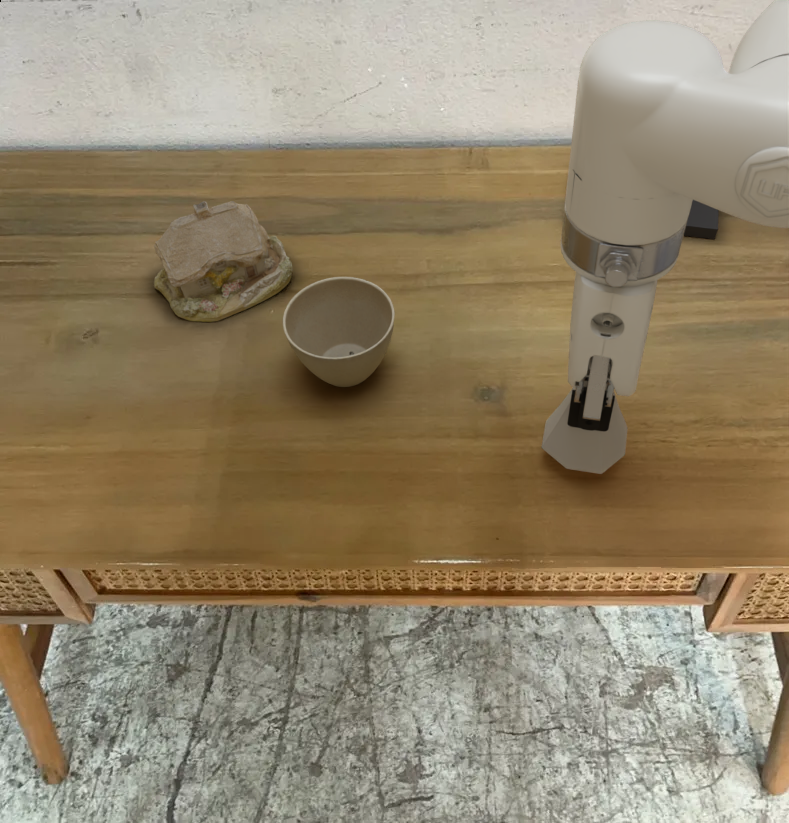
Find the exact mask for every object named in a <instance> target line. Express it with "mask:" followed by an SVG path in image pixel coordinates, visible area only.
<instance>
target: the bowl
mask: <svg viewBox="0 0 789 823" xmlns="http://www.w3.org/2000/svg"><path fill="white" fill-rule="evenodd" d="M289 300H290V301H289V302H288V303H287V305H286V306H285V309H284V312H283V316H282V329H283V332H284V335H285V338H286V339H287V342H288V344H289V346H290V347H291V349H292V351H293V352H294V353H295V355H296V357H297V358H298V359H299V361H300V362H301V364H303V366H305V368H307V369H308V371H310V372H311V373H312V374H313V375H314V376H316V377H317V378H318V379H319V380H321V381H323V382H325V383H328V384H330V385H332V386H333V387H339V388H351V387H354V386H357V385H360V384H362V383H363V382H364V381H366V380H368V378H369V377H370V376H372V375H373V373H374V372H375V371H376V369H377V368H378V367H379V366H380V364H381V362H382V361H383V359H384V357H385V355H386V354H387V350H388V348H389V346H390V343H391V339H392V336H393V332H394V326H395V315H396V314H395V306H394V304H393V301H392V299H391V297H390V295H389V294H388V293H387V292H386V291H385V290H384V289H383V288H381V287H380V286H379V285H377V284H376V283H374V282H372V281H369V280H367V279H364V278H360V277H355V276H333V277H328V278H324V279H321V280H317V281H314V282H313V283H311V284H308V285H307V286H305V287H304V288H302V289H301V290H299V291H298V292H297V293H295V294H294V296H293V297H292V298H291V299H289Z"/></svg>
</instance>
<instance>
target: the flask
mask: <svg viewBox="0 0 789 823" xmlns="http://www.w3.org/2000/svg"><path fill="white" fill-rule="evenodd" d="M587 386H588V381H584V385H583V388H584V387H587ZM606 387H607V384H606ZM606 387H605V391H606ZM572 390H576V386H575V389H574V388H573V387H572V388H571V389H570V391H569V392H568V393H567V395H566V396H565V398H564V399H563V400H562V401H561V402H560V404H558V405H557V407H556V408H555V410H554V411H553V412H552V413H551V414H550V416H548V418H547V419H546V421H545V424H544V430H543V436H542V442H541V449H542V450H543V451H544V452H546V453H547V454H548V455H549V456H551V457H552V458H553V459H554V460H555V461H557V462H558V463H559V464H560V465H561V466H563V467H564V468H565V469H567V470H573V471H580V472H584V473H585V472H587V473H592V474H597V475H598V474H599V475H602V474H603V473H605V472H606V471H607V470H608V469H610V468H611V467H612V466H613V465H615V464H616V463H617V462H618V461H619V460H621V459H622V458H623V457H624V456H625V455H626V448H627V439H628V438H627V437H628V428H629V427H628V425H627V423H626V420H625V417H624V415H623V413H622V410H621V407H620V404H619V402H618V400H617V396H616V392H614V393H613V395H614V396H615V401H614V405H613V410H612V415H611V419H610V424H609V429H608V430H607V431H605V432H603V431H596V430H593V431H590V430H584V429H581V428H576V427H570V426H569V425H568V424H567V422H568V415H569V409H570V402H571V395H572Z"/></svg>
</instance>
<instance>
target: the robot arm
mask: <svg viewBox="0 0 789 823" xmlns="http://www.w3.org/2000/svg"><path fill="white" fill-rule="evenodd" d="M579 66H580V67H579V72H578V79H577V87H576V94H575V95H576V96H575V106H574V116H573V124H572V132H571V143H570V153H569V161H568V170H567V171H568V172H567V181H566V189H565V198H564V206H563V207H564V208H563V215H562V224H561V225H562V226H561V233H560V234H561V235H560V244H559V245H560V252H561V256H562V257H563V260H564V261H565V263H566V264H567V265H568V266H569V267H570V268H571V269H572V270H573V271H574V272H575V275H574V284H573V292H572V293H573V294H572V301H571V311H570V322H569V323H570V325H569V340H568V342H569V343H568V361H567V383H568V384H569V385H570V387H572V388H574V389H575V386H576V390H572V395H571V402H570V409H569V415H568V422H567V424H568V425H569V426H570V427H576V428H581V429H584V430H590V431H593V430H596V431H603V432H605V431H607V430H608V429H609V424H610V419H611V415H612V410H613V405H614V401H615V396H616V395H617V396H620V397H623V396H624V397H631V396H632V395H633V394H634V393H636V391H637V387H638V380H639V376H640V372H641V366H642V362H643V357H644V352H645V348H646V342H647V339H648V338H647V337H648V334H649V328H650V324H651V319H652V314H653V309H654V303H655V298H656V293H657V286H658V280H660V279H661V278H663V277H665V276H666V275H667V274H668V273H670V271H672V270H673V268H674V267H675V266H676V264H677V261H678V259H679V256H680V251H681V248H682V243H683V240H684V237H685V236H684V232H685V228H686V224H687V220H688V216H689V213H690V209H691V205H692V201H693V200H695V201H698V202H700V203H703V204H705V205H708V206H710V207H712V208H715V209H717V210H719V212H722V213H724V214H727V215H729V216H732V217H735V218H737V219H741V220H743V221H746V222H749V223H752V224H756V225H759V226H764V227H768V228H780V229H789V0H774V1H773V2H771V3H770V4H769V5H768V6H767V7H766V8H765V9H764V10H763V11H762V12H761V13H760V14H759V16H757V17H756V19H755V20H754V21H753V23H752V24H751V25H750V26H749V28H748V29H747V30H746V32H745V33H744V34H743V36H742V38H741V39H740V41H739V42H738V45H737V46H736V50H735V52H734V54H733V57H732V60H731V63H730V66H729V69H728V71H727V70H726V69H725V67H724V62H723V58H722V55H721V54H720V50H719V48H718V47H717V46H716V44H715V43H714V42H713V41H712V39H711V38H709V37H708V36H707V35H705V34H703V33H702V32H701V31H699V30H697V29H696V28H693V27H690V26H688V25H685V24H682V23H678V22H674V21H668V20H656V19H655V20H650V19H649V20H647V19H646V20H637V21H632V22H626V23H623V24H619V25H617V26H615V27H613V28H610V29H608V30H607V31H605V32H603V33H602V34H601V35H599V36H598V37H596V39H595V40H594V41H593V42H592V43H591V44H590V45H589V46H588V48H587V49H586V51H585V54H584V56H583V57H582V60H581V63H580V65H579ZM584 381H588V386H587V387H584V388H583V385H584ZM606 384H607V387H606ZM605 387H606V391H605ZM613 393H615V394H616V395H615V396H614V395H613Z"/></svg>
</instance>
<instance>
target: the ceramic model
mask: <svg viewBox="0 0 789 823" xmlns="http://www.w3.org/2000/svg"><path fill="white" fill-rule="evenodd" d="M192 208H193V211H194V212H193V213H191V214H188V215H184V216H179V217H178V218H176V219H174V220H173V221H171V222H170V224H169V227H168V228H167V229H166V230H165V231H164V233H163V234H162V235H161V237H160V238H159V239H158V240H155V241H154V242H155V243H154V244H153V248H154V251H155V254H156V256H157V257H158V258H159V260H160V262H161V265H162V266H163V268H162V269H160V271H159V272H157V274H156V276H155V277H154V280H153V281H154V282H153V287H154V289H156V290H157V291H159V292H160V293H161V294H162V295H163V297H164V298H165V299H166V300H167V302H168V303H169V306H170V309H171V310H172V312H173V313H174V314H175V315H176V316H177V317H178V318H181V319H182V320H186V321H189V322H202V323H205V322H207V323H212V322H218V321H222V320H223V319H226V318H229V317H231V316H233V315H236V314H238V313H241V312H244V311H245V310H248V309H250V308H252V307H254V306H256V305H258V304H260V303H262V302H264V301H266V300H268V299H270V298H272V297H274V296H275V295H277V294H278V293H281V291H282V290H283V289H285V288H286V287H287V285H289V283H290V281H291V279H292V274H293V273H292V272H293V263H292V261H291V260H290V259H291V257H289V256H288V255H287V253H286V250H285V246H284V244H283V242H282V241H281V240H280V239H279V238H278V237H277V235H275V234H274V235H270V236H269V235H268V232H267V230H266V229H265V227H264V226H263V225H261V224H260V222H259V220H258V217H257V215H256V213H255V212H254V210H253V209H252V207H251V206H249V204H247V203H245V204H242V203H238V202H235V201H233V200H232V201H227V202H223V203H221V204H218V205H214V206H212V207H209V205H208V202H207V201H205V200H203V201H201V202H199V203H198V204H195V203H194V204H193V205H192Z"/></svg>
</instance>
